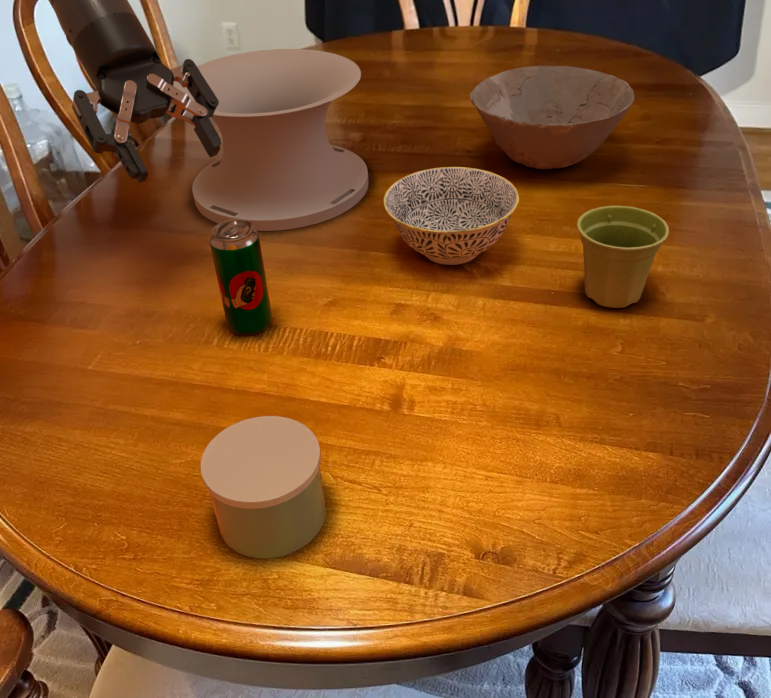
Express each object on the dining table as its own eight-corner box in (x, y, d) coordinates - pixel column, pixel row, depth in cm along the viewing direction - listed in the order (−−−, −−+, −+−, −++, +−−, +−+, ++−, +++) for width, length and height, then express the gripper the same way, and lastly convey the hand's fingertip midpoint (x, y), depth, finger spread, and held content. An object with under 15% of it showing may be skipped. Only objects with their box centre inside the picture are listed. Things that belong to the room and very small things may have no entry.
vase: (165, 224, 108) (137, 112, 99) (232, 147, 127) (214, 47, 118) (342, 237, 103) (331, 120, 94) (385, 154, 122) (380, 50, 113)
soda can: (282, 317, 90) (267, 223, 82) (254, 342, 86) (236, 246, 79) (246, 306, 92) (228, 213, 84) (218, 329, 88) (197, 235, 81)
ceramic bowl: (647, 143, 121) (657, 77, 115) (588, 207, 106) (596, 136, 100) (514, 117, 131) (517, 55, 125) (443, 173, 116) (442, 106, 110)
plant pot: (571, 268, 95) (578, 202, 89) (654, 274, 93) (666, 207, 87) (567, 313, 88) (575, 245, 82) (657, 321, 86) (671, 251, 80)
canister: (222, 573, 63) (206, 514, 58) (210, 487, 70) (195, 430, 66) (339, 544, 64) (331, 484, 60) (316, 463, 72) (307, 405, 67)
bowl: (488, 298, 91) (489, 240, 86) (364, 270, 97) (359, 214, 92) (533, 232, 102) (537, 178, 97) (419, 210, 108) (418, 158, 103)
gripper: (41, 27, 78) (124, 171, 78) (171, -5, 85) (247, 128, 85) (38, 69, 84) (114, 203, 84) (159, 37, 91) (229, 160, 91)
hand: (181, 165), depth 84 cm, fingers open, 8 cm apart
